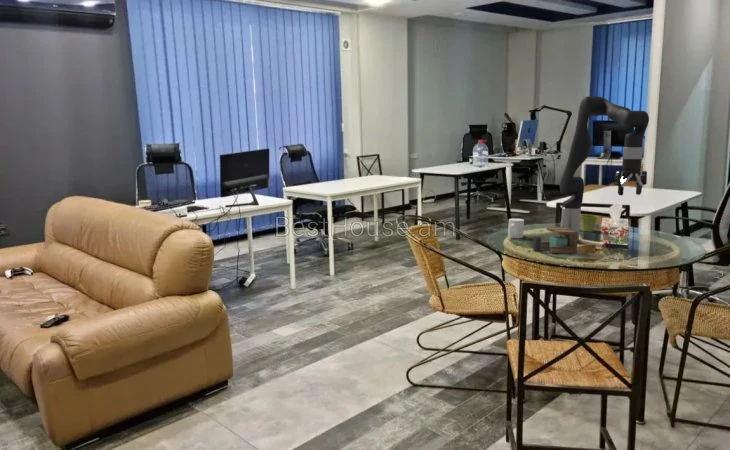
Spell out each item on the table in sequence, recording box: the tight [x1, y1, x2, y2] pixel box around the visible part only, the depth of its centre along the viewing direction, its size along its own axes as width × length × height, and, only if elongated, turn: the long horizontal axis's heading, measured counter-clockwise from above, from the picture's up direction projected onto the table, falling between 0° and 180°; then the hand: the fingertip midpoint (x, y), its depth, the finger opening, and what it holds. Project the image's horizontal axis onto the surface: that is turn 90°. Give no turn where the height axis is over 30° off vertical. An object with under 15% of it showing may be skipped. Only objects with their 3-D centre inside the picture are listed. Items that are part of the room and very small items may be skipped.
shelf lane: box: [540, 226, 578, 254], centre depth 269 cm, size 13×13×10 cm
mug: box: [507, 218, 525, 239], centre depth 301 cm, size 12×9×8 cm
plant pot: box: [580, 214, 599, 233], centre depth 317 cm, size 9×9×9 cm
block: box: [532, 235, 568, 252], centre depth 269 cm, size 6×15×7 cm, turn 101°
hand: (629, 194), depth 244 cm, fingers open, 8 cm apart
